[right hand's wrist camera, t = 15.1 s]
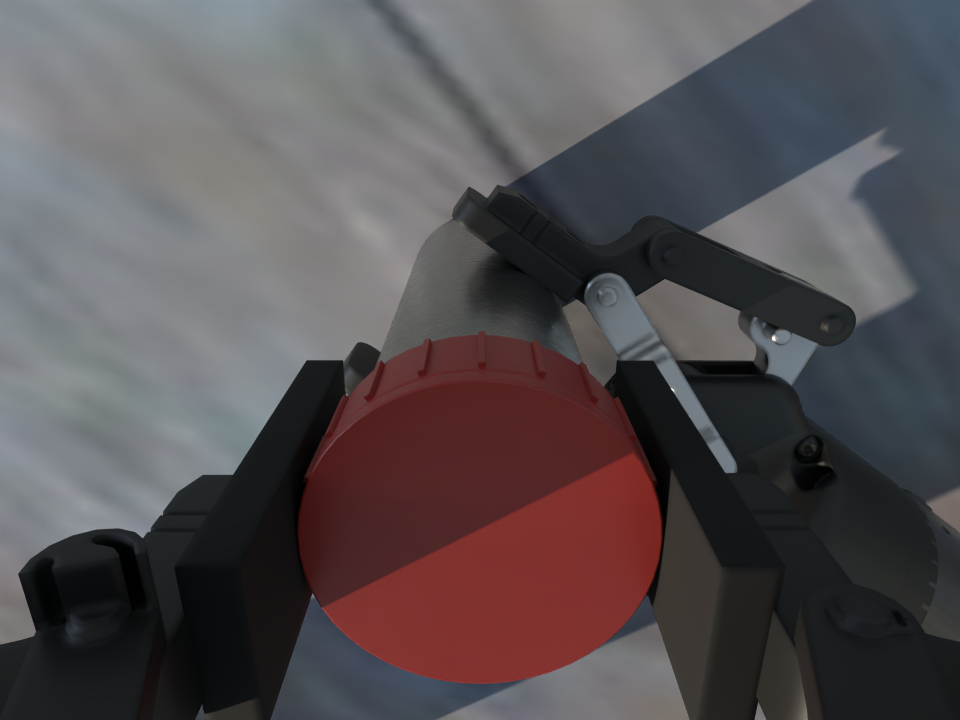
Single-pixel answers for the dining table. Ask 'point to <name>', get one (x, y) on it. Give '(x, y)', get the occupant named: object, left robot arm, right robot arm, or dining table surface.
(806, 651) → the right robot arm
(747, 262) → the left robot arm
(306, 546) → the lid
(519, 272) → the bottle
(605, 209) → the dining table surface
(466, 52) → the dining table surface
